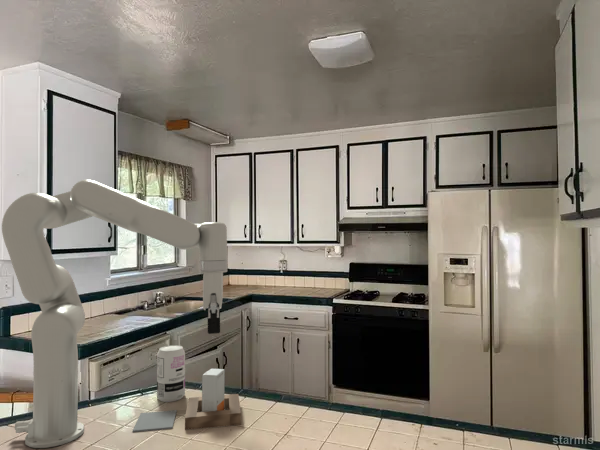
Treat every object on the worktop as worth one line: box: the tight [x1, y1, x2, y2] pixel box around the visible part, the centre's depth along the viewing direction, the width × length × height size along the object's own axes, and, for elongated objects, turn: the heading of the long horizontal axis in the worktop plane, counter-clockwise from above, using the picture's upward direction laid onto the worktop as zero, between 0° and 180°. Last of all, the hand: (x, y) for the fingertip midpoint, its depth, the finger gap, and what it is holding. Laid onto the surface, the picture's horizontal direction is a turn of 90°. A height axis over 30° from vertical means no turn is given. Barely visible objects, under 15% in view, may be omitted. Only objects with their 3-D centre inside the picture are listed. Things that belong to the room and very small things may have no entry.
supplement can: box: [156, 344, 186, 403], centre depth 129 cm, size 8×8×15 cm
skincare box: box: [201, 368, 226, 412], centre depth 114 cm, size 6×4×12 cm
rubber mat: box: [132, 409, 178, 433], centre depth 111 cm, size 10×11×1 cm
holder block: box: [184, 393, 242, 431], centre depth 114 cm, size 14×14×3 cm
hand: (214, 329), depth 115 cm, fingers open, 9 cm apart
